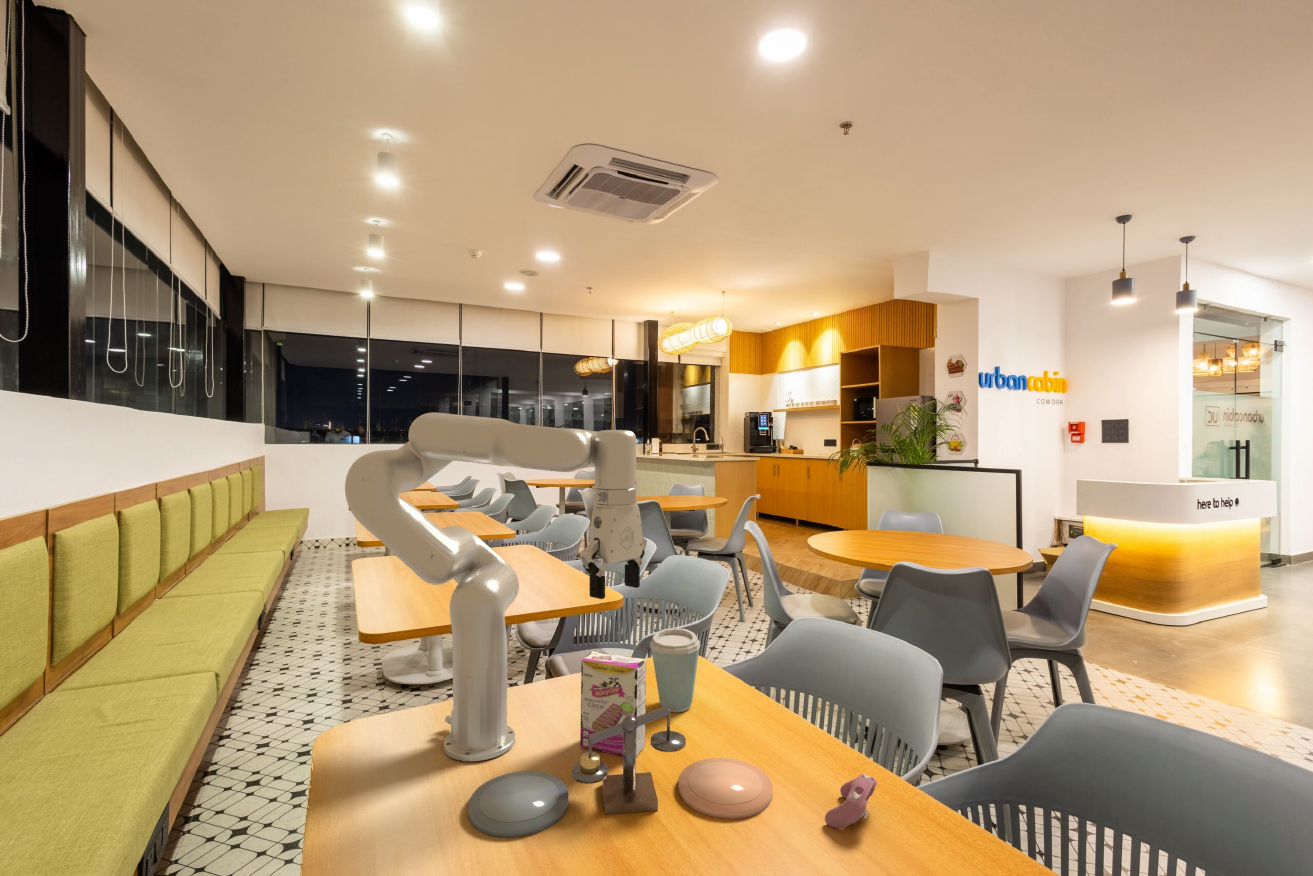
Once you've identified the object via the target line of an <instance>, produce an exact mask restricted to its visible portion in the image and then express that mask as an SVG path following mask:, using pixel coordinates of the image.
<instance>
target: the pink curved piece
mask: <svg viewBox="0 0 1313 876" xmlns="http://www.w3.org/2000/svg"><path fill="white" fill-rule="evenodd" d="M877 784H878V781H877V780H875V778H874V777H871V776H870V775H866V773H865V772H863V773H862V774H859V775H858V776H857V777H856V778H855V779H852V780H850V781H846V782H845V783H844V784H842V786H841V787H840V789H839V790H840V795H841V796H842V798H844V799H845V798H846V799H845V801H844V802H842V803H841V804H839V805H838V806H836V807H833V808H832V809H830V810H829V811H827V812H826V813H825V816H824V821H825V823H826V825H827V826H828V825H829V826H828V827H830V826H831V828H833V827H834V829H842V828H846V827H848V826H850V825H854V824H855V823H857V821H859V819H860V818H862V819H866V818H867V816H868V815H869V811H868V810H867V806H868V803H869V802H868V801H869V799H870V797H872V795H873V794H874V792H875V790H876V787H877ZM866 810H867V811H866Z"/></svg>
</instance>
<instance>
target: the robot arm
mask: <svg viewBox="0 0 1313 876" xmlns="http://www.w3.org/2000/svg"><path fill="white" fill-rule="evenodd" d="M407 436H408V441H407V442H406V443H405V444H404V445H402V446H401V447H400V448H398V449H397V448H396V449H385V450H383V449H381V450H376V451H375V450H374V451H371V452H367V453H365V454H363V455H361V456H360V457H358V458H357V459H356V460H355V461H353V463H352V464H351V466H350V467H349V469H348V470H347V473H346V477H345V482H344V493H345V495H344V496H345V499H346V503H347V505H348V509H350V512H351V514H352V515H353V516H354V518H355V520H357V522H359V524H361V525H362V526H363V527H364V528H365V529H366V530H367V531H368V532H369V533H371V535H372V536H374V537H375V538H376V539H378V541H380V542H381V543H382V544H383V545H384V546H385V547H387V549H388V550H389V551H391V552H392V553H393V555H395V556H396V557H397V558H398V559H399V560H400V561H402V563H403V564H404V565H406V567H408V568H409V569H410V570H411V571H412V572H413V573H414V574H415V575H416V576H417V577H418V578H420V579H421V580H422V581H424V582H425V583H426V584H429V585H433V586H437V585H438V586H439V585H444V584H446V583H448V582H451V581H452V580H454V582H455V583H457V584H456V586H455V588H454V590H453V592H452V593H451V597H450V602H449V619H450V623H451V632H452V658H453V659H452V663H453V664H452V665H453V667H452V668H453V669H452V671H453V672H452V673H453V674H452V675H453V676H452V677H453V679H452V680H453V681H452V683H453V684H452V685H453V686H452V687H453V688H452V694H453V695H452V700H453V701H452V710H451V715H450V714H449V715H446V716H445V718H444V722H445V723H446V724H448V725H450V733H449V734H448V735H447V736H446V737H445V739H444V742H443V750H444V753H445V754H446V756H448V757H449V758H452V759H453V760H455V761H456V760H457V761H460V760H461V761H460V762H480V761H486V760H491V759H494V758H498V757H500V756H502V755H504V754H505V753H506V752H508V751H509V750H510V749H512V748H513V746H514V745H515V743H516V732H515V730H514V729H513V728H512V727H510V726H509V725H508V638H507V637H508V636H507V635H508V634H507V630H506V621H505V620H506V619H505V616H506V615H505V614H506V611H507V610H508V608H509V607H510V606H511V605H512V604H513V603H514V601H515V600H516V599H517V596H518V594H519V590H520V582H519V578H518V575H517V573H516V572H515V570H514V569H513V568H512V566H510V564H509V563H507V562H506V561H505V560H504V559H503V558H502V557H501V556H500V555H498V554H497V553H496V551H494V550H493V549H492V547H490V546H489V545H488V544H486V542H485V541H483V540H482V538H480V537H479V536H478V535H477V534H475V533H474V532H472V531H471V530H469V529H467V528H465V527H462V526H457V525H452V526H451V525H450V526H445V527H442V528H441V527H439V526H438V525H437V524H436V523H435V522H433V521H432V520H431V519H430V518H429V517H428V516H427V515H426V514H424V512H423V511H421V510H420V509H419V508H418V507H416V506H415V505H413V504H411V503H410V502H409V501H406V500H405V499H404V498H402V496H401V495H400V494H404V493H408V492H411V491H414V490H415V489H417V488H419V487H421V486H422V485H424V483H426V482H428V481H429V480H430V479H431V478H433V477H434V476H436V475H437V474H438V473H439V472H440V471H442V470H443V469H445V468H446V467H447V466H449V465H450V464H451V463H452V462H465V463H474V464H475V463H476V464H484V465H490V466H499V467H512V468H513V467H514V468H521V469H529V470H537V471H538V470H539V471H548V472H549V471H550V472H558V473H573V472H576V471H578V470H583V469H587V468H594V494H593V501H594V506H593V509H592V514H591V522H590V531H589V532H590V533H589V544H588V545H587V546H585V548H584V549H583V550H582V551H581V552H580V553H579V557H580V560H581V563H582V564H583V565H582V567H583V568H584V570H585V571H586V574H587V575H589V597H590V598H594V599H598V600H604V599H605V598H606V576H605V575H604V572H605V571H606V568H607V566H608V565H616V564H620V563H624V562H626V564H624V585H625V586H626V587H631V588H635V589H637V588H640V587H641V578H640V577H641V566H642V564H643V558H644V556H645V550H646V547H647V543H648V540H647V539H646V538H644V537H643V528H642V526H643V525H642V518H641V512H640V507H639V504H638V503H637V438H636V437H637V436H636V434H635V433H634V431H631V430H628V429H627V430H626V429H624V430H623V429H606V430H599V431H595V430H586V429H581V428H562V427H550V426H542V425H541V426H540V425H531V424H523V423H516V422H513V421H510V420H507V419H503V418H495V417H487V416H475V415H473V416H472V415H465V414H456V413H455V414H452V413H445V412H444V413H443V412H427V413H424V414H422V415H420V416H418V417H417V418H415V419H414V421H412V422H411V425H410V426H409V429H408V435H407Z"/></svg>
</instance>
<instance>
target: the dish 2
mask: <svg viewBox="0 0 1313 876" xmlns="http://www.w3.org/2000/svg"><path fill="white" fill-rule="evenodd" d="M678 793H679V795H680V797H681V799H682V801H683V802H684V803H685V804H686V805H687V806H688V807H690V808H691V809H692V810H694V811H696V812H698V813H700V814H703V815H705V816H707V817H713V818H717V819H727V820H731V819H732V820H735V819H736V820H737V819H738V820H740V819H745V818H751V817H752V816H756V815H757V814H759V813H761V812H763V811H765V810H766V809H767V808H768V807H769V806H770V804H771V803H772V800H773V784H772V781H771V779H770V777H769V776H768V775H767V774H766V773H765V772H764V771H763V770H762V769H761V768H759V767H757V766H756V765H754V764H752V763H750V762H749V763H748V762H747V761H743V760H739V759H735V758H734V759H733V758H729V757H711V758H705V759H701V760H697V761H695V762H693V763H691V764H689V765H688V766H686V767H685V768H684V769H683V770H682V771H681V772H680V775H679V777H678Z"/></svg>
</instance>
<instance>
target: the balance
mask: <svg viewBox="0 0 1313 876" xmlns="http://www.w3.org/2000/svg"><path fill="white" fill-rule="evenodd" d="M665 717H666V730H662V731H658V732H655V733H654V734H652V735H651V737H650V745H651V747H652V748H653V749H654V750H656V751H658V752H659V751H660V752H664V753H675V752H678V751H679V752H680V751H681V750H683V749H685V747H686V744H687V741H686V739H687V738H686V737H685V735H684V734H682V733H680V732H677V731H674V730H671V712H670V709H668V707H667V705H666V706H664V707H662V706H661V707H659V708H656V709H654V710H651V711H649V712H645V714H643V715H640V716H638V717H633V716H626V717H625V718H624V719H623V721H622V723H619V724H617V725H614V726H611V727H609V728H606V729H604V730H601V731H598V732H596V733H593V734H590V735H589V749H588V752H584V753H582V754H581V755H580V762H578V763H576V764H575V765H573V767H572V769H571V777H572V778H573V780H574V781H575V782H578V783H580V784H584V785H585V784H587V785H592V784H596V783H597V784H598V783H599V782H602V783H601V787H602V796H603V806H604V807H603V808H604V815H606V816H607V815H621V814H631V813H644V812H657V811H658V812H659V798H658V796H657V795H658V794H657V792H656V788H655V783H654V780H653V776H652V772H651V771H648V772H647V771H646V772H636V769H637V765H636V764H637V763H636V762H637V757H636V730H637V728H638V727H639V726H641V725H644V724H645V725H646V724H649V723H652V722H654V721H657V720H659V719H662V718H665ZM621 733H623V756H622V773H621V774H619V773H618V774H609V767H608V765H607V764H606V763H604V762H602V761H601V760H600V757H601V756H600V754H599V753H598V752H595V751H593V750H592V744H595V743H597V742H600V741H602V740H605V739H608V738H610V737H613V736H615V735H618V734H621Z"/></svg>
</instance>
